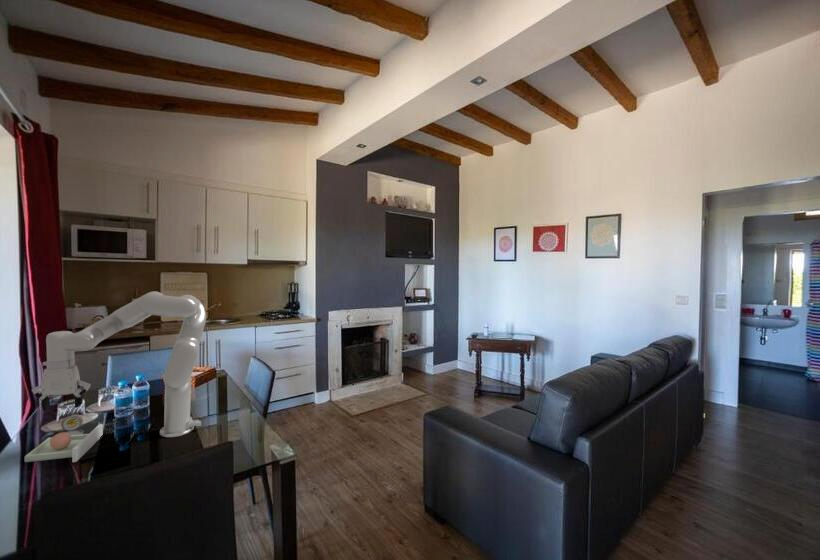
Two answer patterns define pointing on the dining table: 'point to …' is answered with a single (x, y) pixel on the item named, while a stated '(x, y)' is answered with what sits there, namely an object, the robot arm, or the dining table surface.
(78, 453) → the wall
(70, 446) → the tray
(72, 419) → the pocket watch
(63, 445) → the ball
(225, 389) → the dining table surface
